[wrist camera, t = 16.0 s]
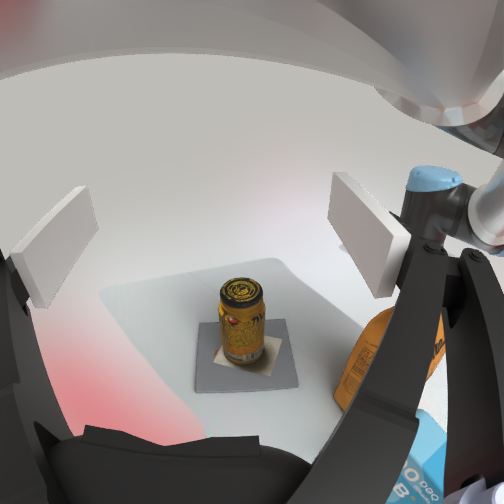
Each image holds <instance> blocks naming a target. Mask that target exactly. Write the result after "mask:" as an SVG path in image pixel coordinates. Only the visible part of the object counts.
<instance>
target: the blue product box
mask: <svg viewBox="0 0 504 504" xmlns="http://www.w3.org/2000/svg"><path fill="white" fill-rule="evenodd" d="M416 418H419V422H420V424H419V428H418V432H417V435H416V437H415V440H414V443H413V445H412V448H411V450H410V453H409V455H408V457H407V460H406V462H405V464H404V467H403V469H402V471H401V473H400V476H399V478H398V480H397V482H396V484H395V486H394V488H393V490H392V492H391V494H390V496H389V498H388V500H387V502H386V503H385V504H440V503H441V502H442V501H443V500H444V497H443V478H444V464H445V455H446V442H447V433H446V432H445V431H444V430H443V429H442V428H441V427H440V426H439V425H438V423H437V422H436V421H435V420H434V419H433V418H432V417H431V416H430V415H429V414H428V413H427V412H426V411H424V410H422V409H417V411H416Z"/></svg>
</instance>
